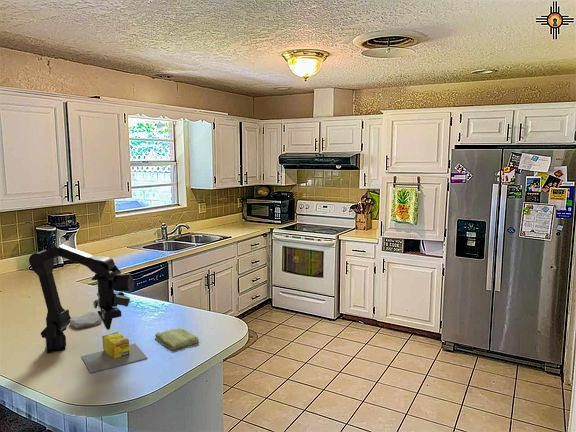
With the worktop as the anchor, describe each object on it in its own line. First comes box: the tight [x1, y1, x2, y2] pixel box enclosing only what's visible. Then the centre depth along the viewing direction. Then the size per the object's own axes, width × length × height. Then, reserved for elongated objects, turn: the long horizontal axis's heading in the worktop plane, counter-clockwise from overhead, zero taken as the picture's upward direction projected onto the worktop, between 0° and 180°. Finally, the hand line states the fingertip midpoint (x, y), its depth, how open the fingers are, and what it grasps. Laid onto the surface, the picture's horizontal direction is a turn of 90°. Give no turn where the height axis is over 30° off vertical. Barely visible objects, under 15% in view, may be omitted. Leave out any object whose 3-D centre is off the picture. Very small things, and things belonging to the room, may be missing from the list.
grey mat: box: [81, 343, 148, 374], centre depth 164 cm, size 20×16×1 cm
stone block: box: [69, 311, 103, 329], centre depth 199 cm, size 12×5×10 cm
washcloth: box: [154, 327, 200, 351], centre depth 180 cm, size 13×18×3 cm
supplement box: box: [101, 331, 130, 359], centre depth 168 cm, size 6×6×11 cm
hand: (108, 329), depth 170 cm, fingers closed
